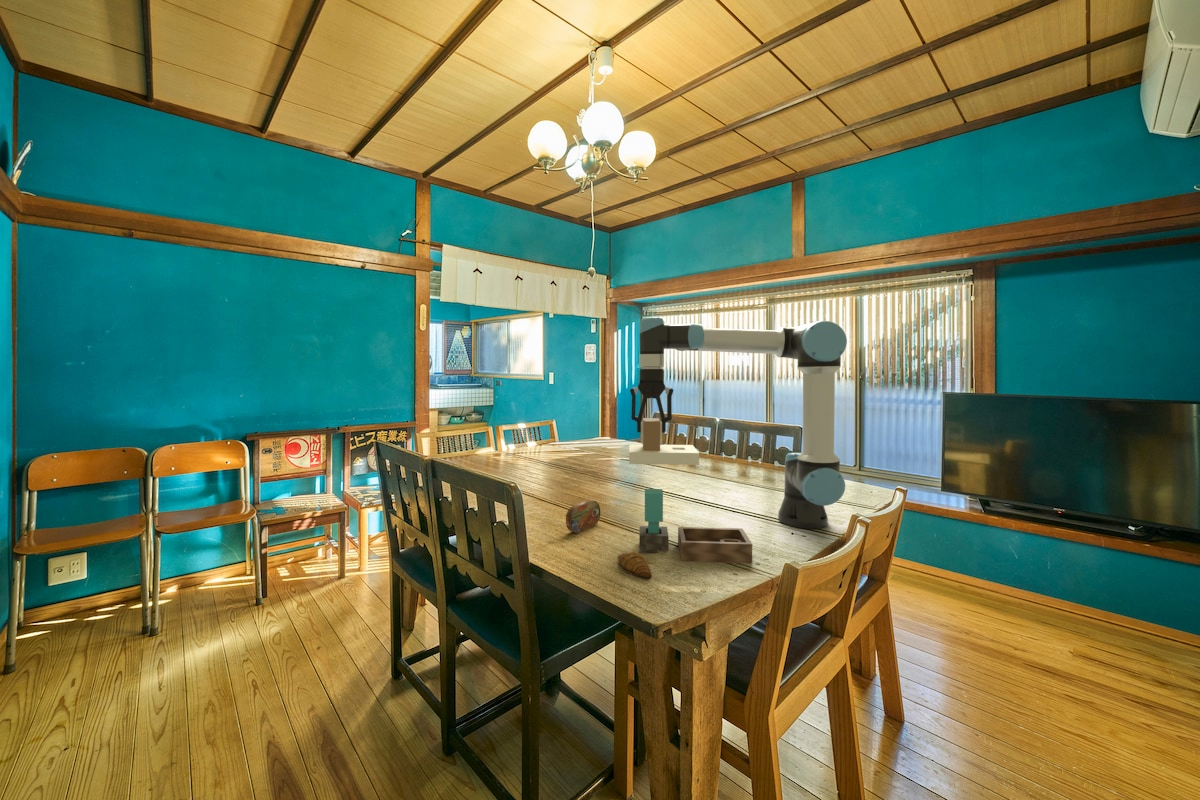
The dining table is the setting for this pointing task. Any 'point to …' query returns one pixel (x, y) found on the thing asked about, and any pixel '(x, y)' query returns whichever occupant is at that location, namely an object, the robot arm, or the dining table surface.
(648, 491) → the teal block
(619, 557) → the croissant
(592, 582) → the dining table surface
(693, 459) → the lid
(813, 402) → the robot arm
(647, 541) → the holder
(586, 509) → the tin
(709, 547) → the brown wooden open box
